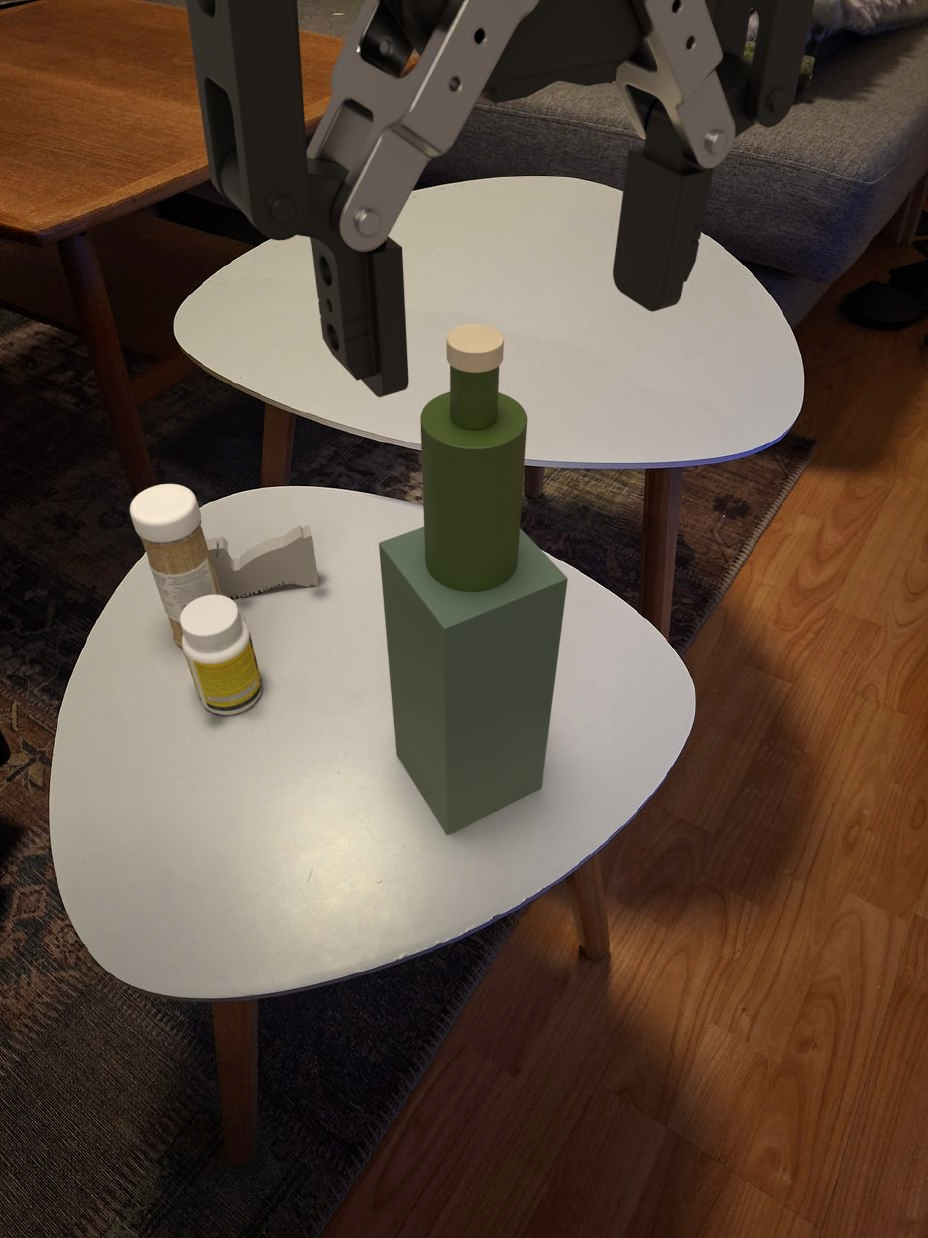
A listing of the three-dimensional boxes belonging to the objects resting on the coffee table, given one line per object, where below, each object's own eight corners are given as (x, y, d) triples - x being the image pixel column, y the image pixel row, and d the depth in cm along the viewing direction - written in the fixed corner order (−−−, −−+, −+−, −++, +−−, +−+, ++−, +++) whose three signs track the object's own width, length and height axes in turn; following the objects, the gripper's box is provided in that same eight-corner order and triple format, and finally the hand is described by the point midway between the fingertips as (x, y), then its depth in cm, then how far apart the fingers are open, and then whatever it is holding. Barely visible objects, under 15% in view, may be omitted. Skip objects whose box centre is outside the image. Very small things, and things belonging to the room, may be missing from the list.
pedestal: (447, 835, 59) (444, 628, 44) (396, 754, 63) (378, 542, 49) (541, 788, 61) (568, 577, 47) (486, 713, 66) (494, 500, 51)
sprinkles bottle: (229, 609, 73) (195, 477, 63) (231, 649, 70) (196, 517, 60) (172, 617, 72) (129, 485, 63) (172, 658, 69) (126, 526, 59)
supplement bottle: (276, 691, 67) (258, 613, 61) (225, 727, 65) (201, 650, 58) (237, 658, 69) (216, 580, 63) (186, 692, 67) (159, 615, 61)
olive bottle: (453, 604, 45) (453, 379, 36) (408, 548, 48) (397, 326, 39) (535, 571, 47) (555, 348, 38) (487, 519, 50) (494, 300, 41)
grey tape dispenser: (318, 586, 75) (198, 604, 73) (316, 575, 76) (197, 593, 74) (311, 534, 71) (183, 552, 69) (309, 524, 72) (183, 541, 70)
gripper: (764, -629, 17) (639, 231, 29) (-27, -772, 12) (216, 344, 23) (1145, -746, 12) (812, 331, 24) (134, -1057, 7) (335, 496, 19)
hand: (518, 336), depth 24 cm, fingers open, 8 cm apart
